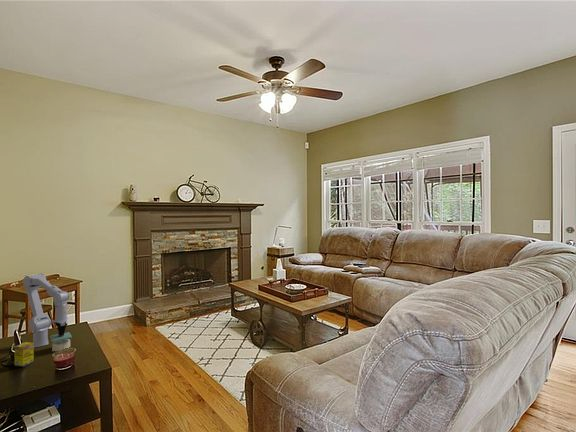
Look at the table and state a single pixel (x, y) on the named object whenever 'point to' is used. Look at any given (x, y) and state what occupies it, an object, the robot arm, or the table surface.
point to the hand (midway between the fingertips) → (61, 334)
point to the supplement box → (24, 354)
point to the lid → (58, 337)
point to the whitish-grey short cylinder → (60, 344)
